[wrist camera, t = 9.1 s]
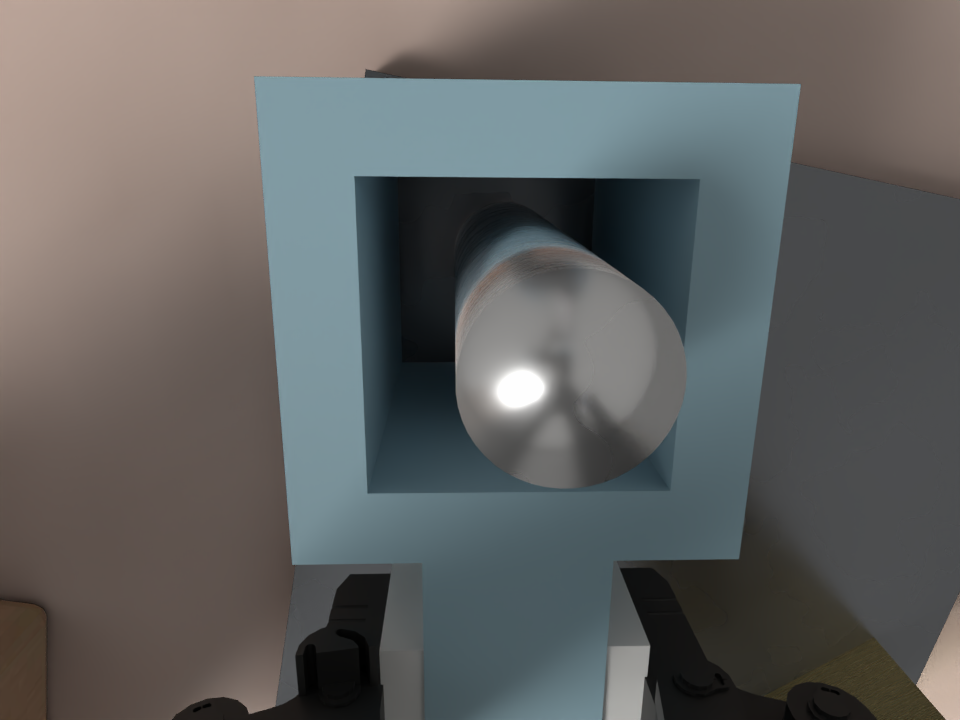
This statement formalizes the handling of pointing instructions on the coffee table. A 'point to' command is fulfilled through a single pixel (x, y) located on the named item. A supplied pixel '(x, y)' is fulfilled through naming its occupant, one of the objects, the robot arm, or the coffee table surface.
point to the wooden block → (22, 661)
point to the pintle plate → (810, 427)
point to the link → (432, 385)
